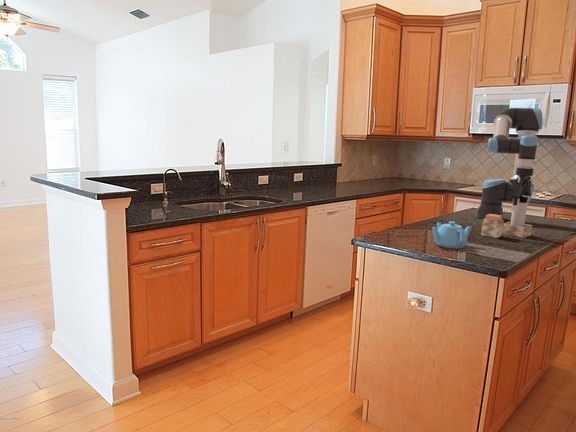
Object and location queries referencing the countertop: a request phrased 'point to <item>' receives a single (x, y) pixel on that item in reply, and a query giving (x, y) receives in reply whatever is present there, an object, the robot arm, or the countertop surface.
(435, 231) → the teapot
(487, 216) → the orange square panel
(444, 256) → the countertop surface
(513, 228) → the dock
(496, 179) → the robot arm
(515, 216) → the travel mug
